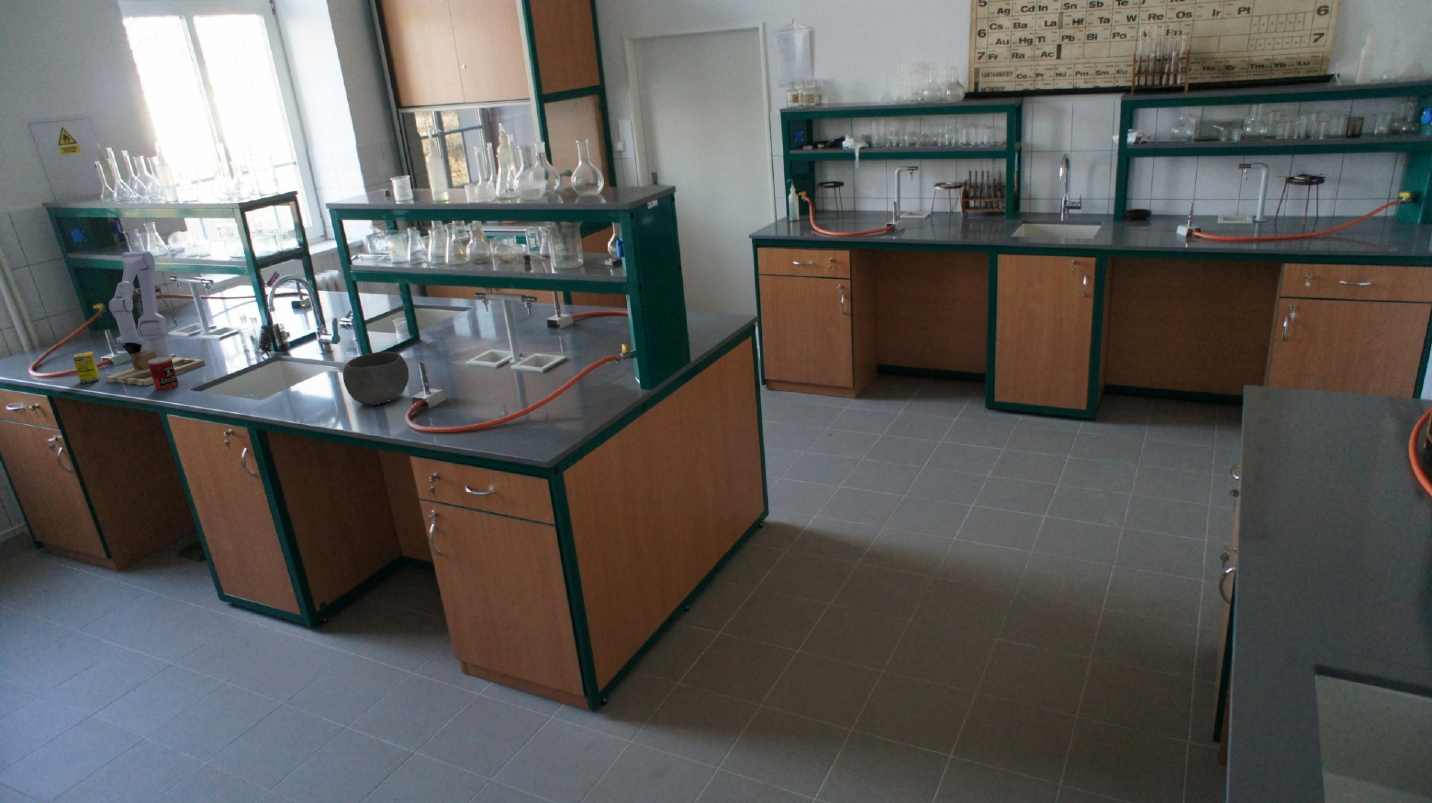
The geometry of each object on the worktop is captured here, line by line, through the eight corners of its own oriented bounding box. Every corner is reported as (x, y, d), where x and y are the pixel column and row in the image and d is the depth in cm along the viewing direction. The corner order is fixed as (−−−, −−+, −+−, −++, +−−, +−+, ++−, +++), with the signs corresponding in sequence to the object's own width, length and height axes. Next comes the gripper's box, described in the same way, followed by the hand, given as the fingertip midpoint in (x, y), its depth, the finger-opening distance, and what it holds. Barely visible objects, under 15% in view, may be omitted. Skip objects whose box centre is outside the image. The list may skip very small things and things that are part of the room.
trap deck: (107, 381, 359) (105, 376, 358) (166, 360, 381) (165, 356, 380) (146, 386, 350) (145, 381, 350) (205, 364, 373) (203, 359, 372)
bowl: (378, 388, 332) (370, 348, 327) (425, 392, 324) (418, 351, 319) (335, 408, 314) (326, 366, 308) (384, 414, 306) (375, 371, 301)
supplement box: (81, 384, 357) (72, 357, 353) (82, 380, 362) (74, 353, 358) (99, 381, 360) (90, 354, 356) (100, 377, 365) (92, 351, 361)
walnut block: (134, 369, 366) (130, 354, 363) (148, 364, 371) (144, 350, 369) (145, 370, 363) (140, 355, 361) (158, 365, 368) (154, 351, 366)
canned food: (163, 392, 343) (154, 363, 339) (151, 389, 347) (143, 361, 343) (183, 385, 349) (175, 357, 345) (171, 382, 353) (163, 355, 349)
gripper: (105, 329, 362) (115, 362, 367) (130, 331, 357) (140, 365, 362) (122, 324, 368) (131, 357, 373) (147, 326, 363) (156, 359, 368)
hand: (137, 360), depth 368 cm, fingers closed
